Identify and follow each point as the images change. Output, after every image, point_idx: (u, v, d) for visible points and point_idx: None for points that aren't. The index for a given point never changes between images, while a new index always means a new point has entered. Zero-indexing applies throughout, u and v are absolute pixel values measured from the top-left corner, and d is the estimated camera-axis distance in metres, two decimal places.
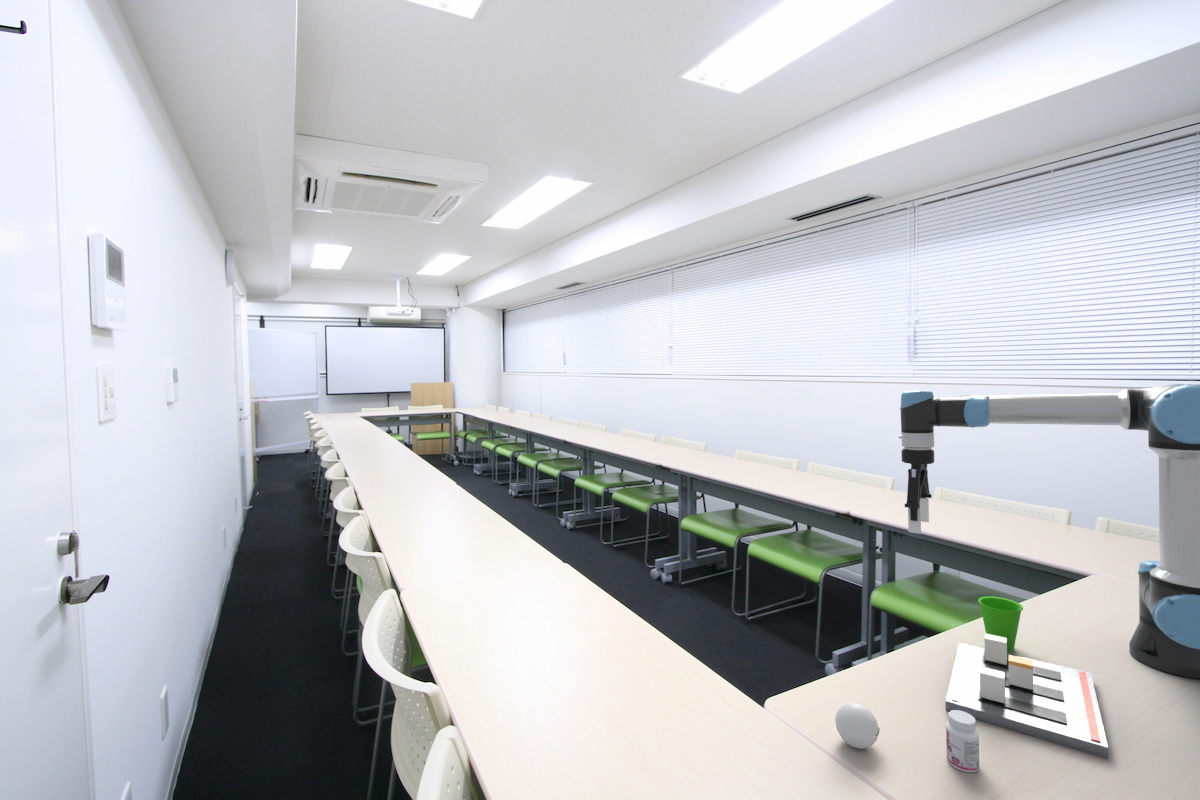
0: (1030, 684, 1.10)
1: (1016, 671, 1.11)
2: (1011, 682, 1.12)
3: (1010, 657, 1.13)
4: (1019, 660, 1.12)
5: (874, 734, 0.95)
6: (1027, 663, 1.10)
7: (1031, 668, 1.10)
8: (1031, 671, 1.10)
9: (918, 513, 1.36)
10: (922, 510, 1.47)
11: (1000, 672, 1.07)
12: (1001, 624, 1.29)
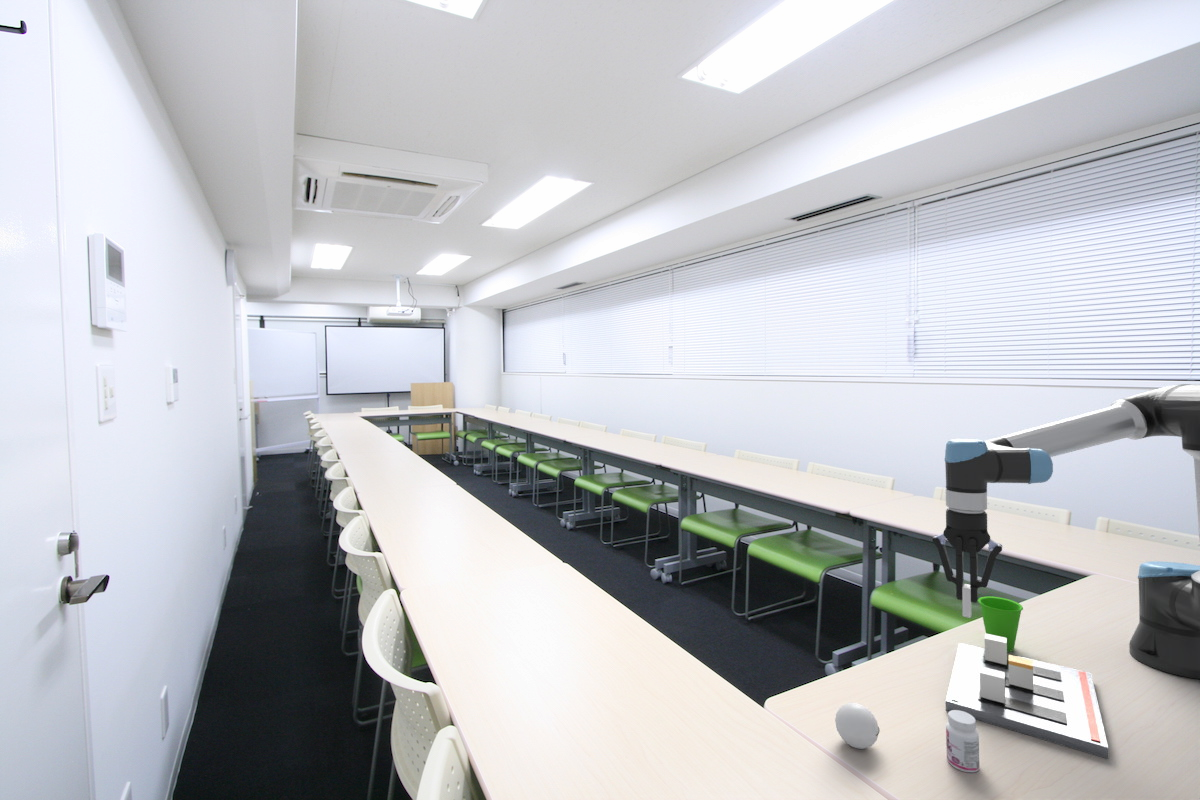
0: (1030, 684, 1.10)
1: (1016, 671, 1.11)
2: (1011, 682, 1.12)
3: (1010, 657, 1.13)
4: (1019, 660, 1.12)
5: (874, 733, 0.95)
6: (1027, 663, 1.10)
7: (1031, 668, 1.10)
8: (1031, 671, 1.10)
9: (962, 592, 1.17)
10: None
11: (1000, 672, 1.07)
12: (1001, 624, 1.29)
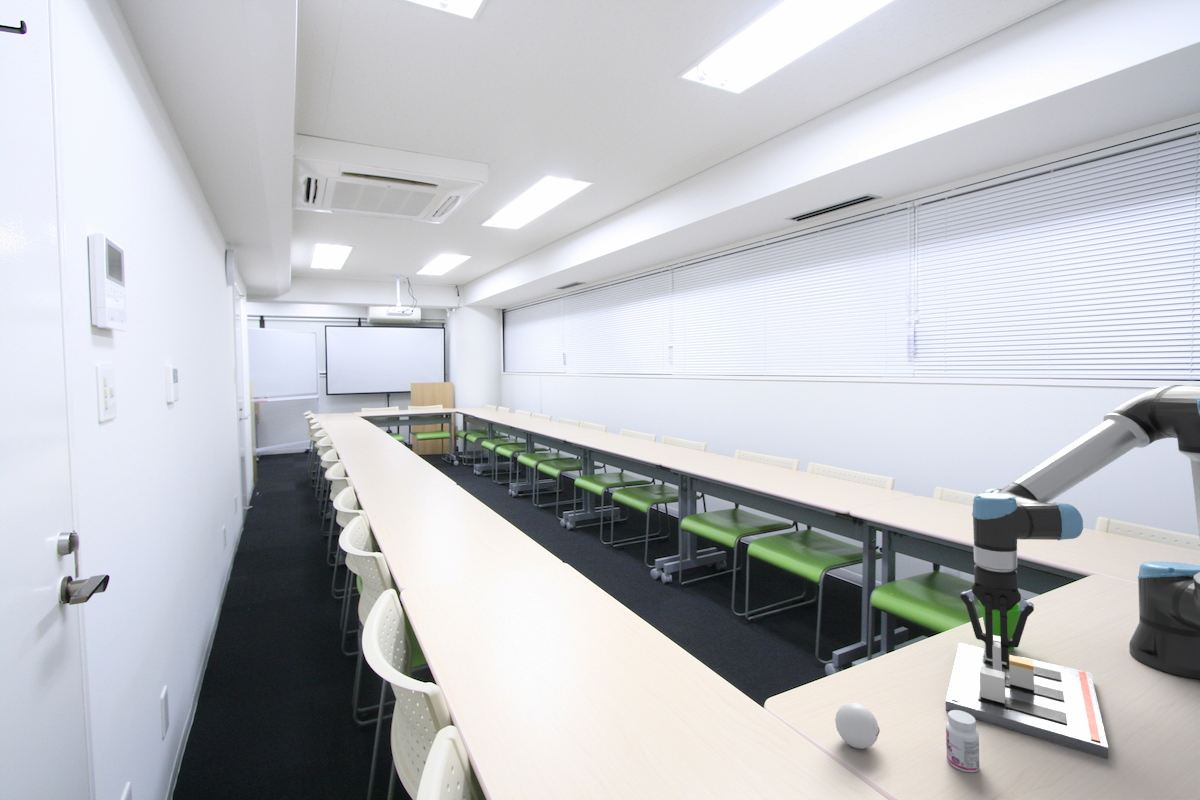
0: (1031, 684, 1.10)
1: (1017, 671, 1.11)
2: (1012, 682, 1.12)
3: (1011, 657, 1.13)
4: (1020, 660, 1.12)
5: (874, 734, 0.95)
6: (1028, 663, 1.10)
7: (1032, 668, 1.10)
8: (1032, 671, 1.10)
9: (992, 651, 1.14)
10: None
11: (1000, 672, 1.07)
12: None
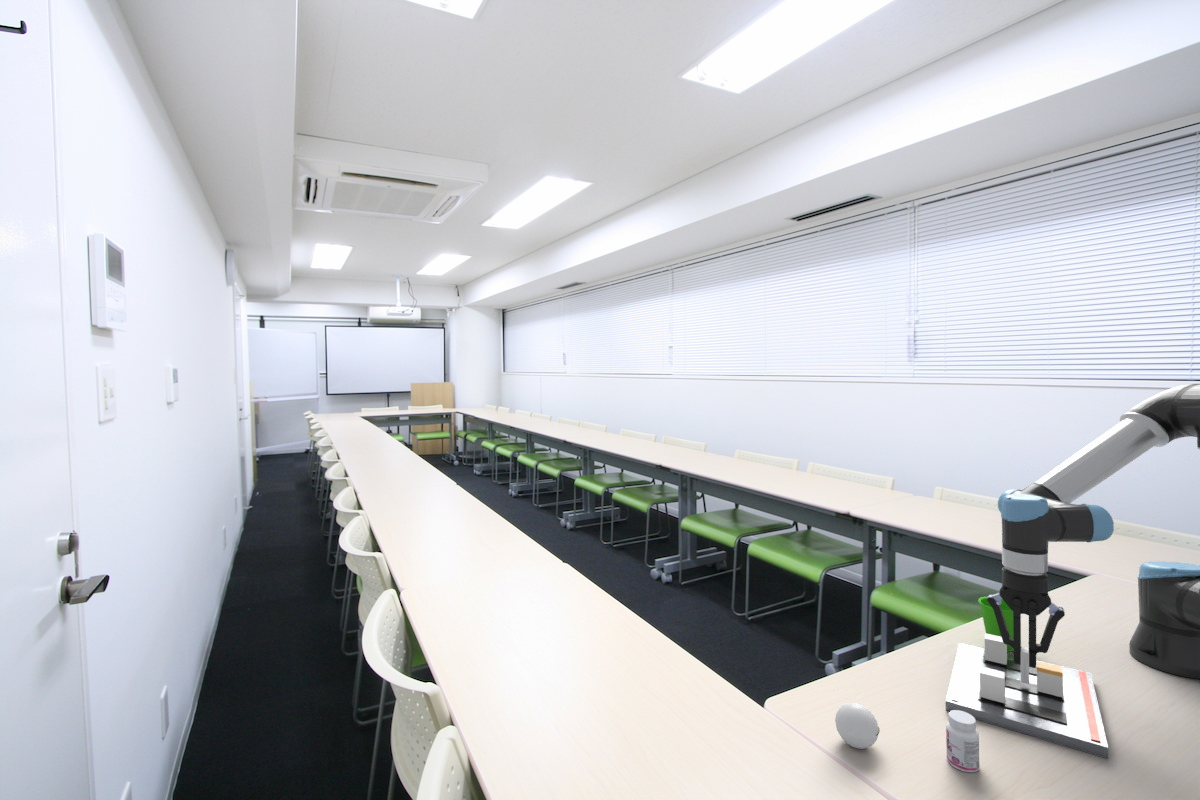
0: (1060, 691, 1.07)
1: (1045, 678, 1.08)
2: (1040, 689, 1.09)
3: (1038, 664, 1.10)
4: (1048, 667, 1.09)
5: (874, 733, 0.95)
6: (1056, 670, 1.08)
7: (1061, 675, 1.07)
8: (1061, 678, 1.07)
9: (1020, 656, 1.11)
10: None
11: (1000, 672, 1.07)
12: None
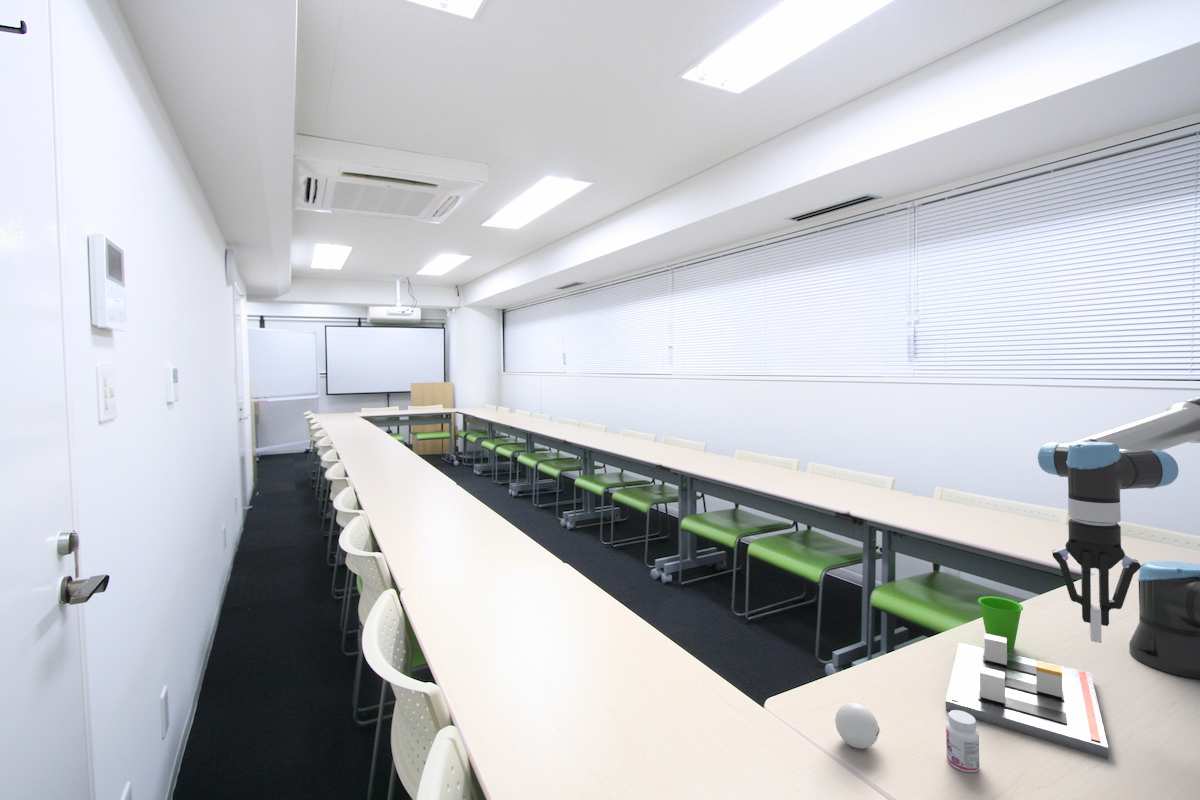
0: (1059, 691, 1.07)
1: (1044, 678, 1.08)
2: (1039, 689, 1.09)
3: (1038, 663, 1.10)
4: (1047, 667, 1.09)
5: (874, 733, 0.95)
6: (1056, 670, 1.08)
7: (1060, 675, 1.07)
8: (1060, 678, 1.07)
9: (1090, 614, 1.04)
10: None
11: (1000, 672, 1.07)
12: (1001, 624, 1.29)
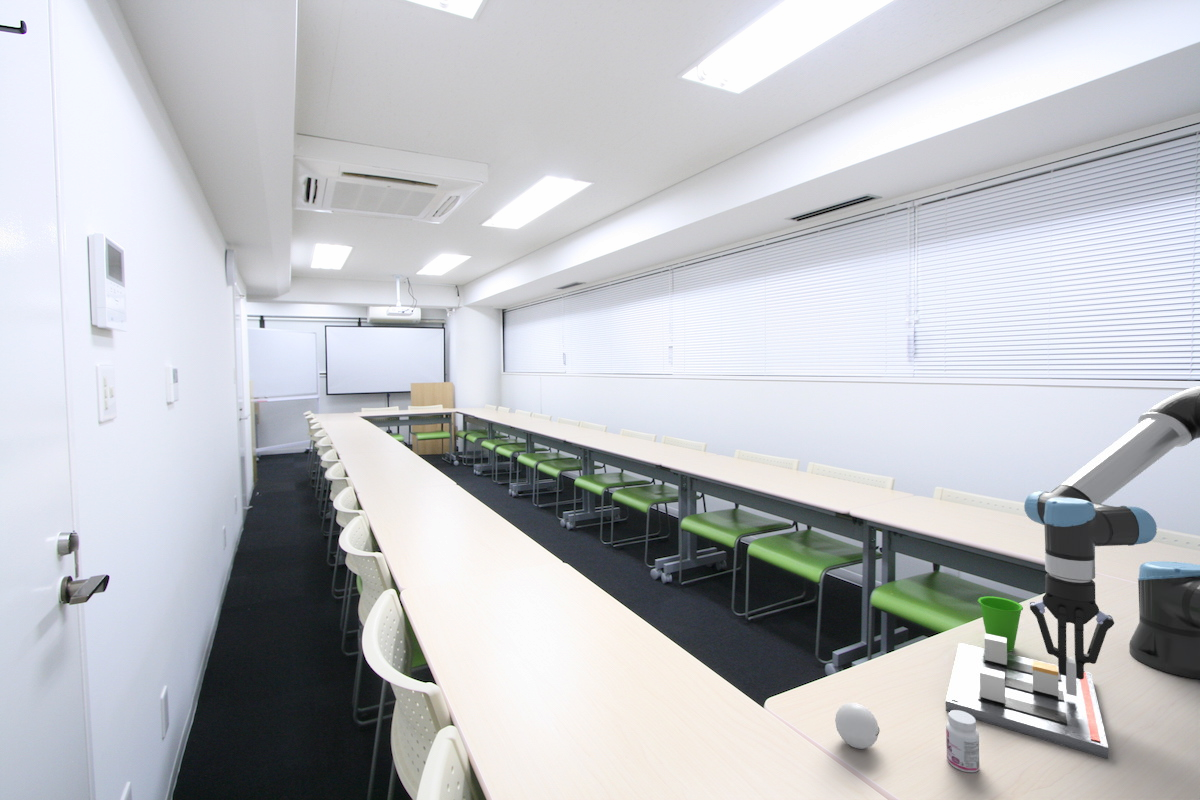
0: (1055, 690, 1.07)
1: (1040, 677, 1.09)
2: (1035, 688, 1.09)
3: (1034, 663, 1.11)
4: (1043, 666, 1.09)
5: (874, 733, 0.95)
6: (1052, 669, 1.08)
7: (1056, 674, 1.07)
8: (1056, 677, 1.07)
9: (1066, 667, 1.06)
10: None
11: (1000, 672, 1.07)
12: (1001, 624, 1.29)
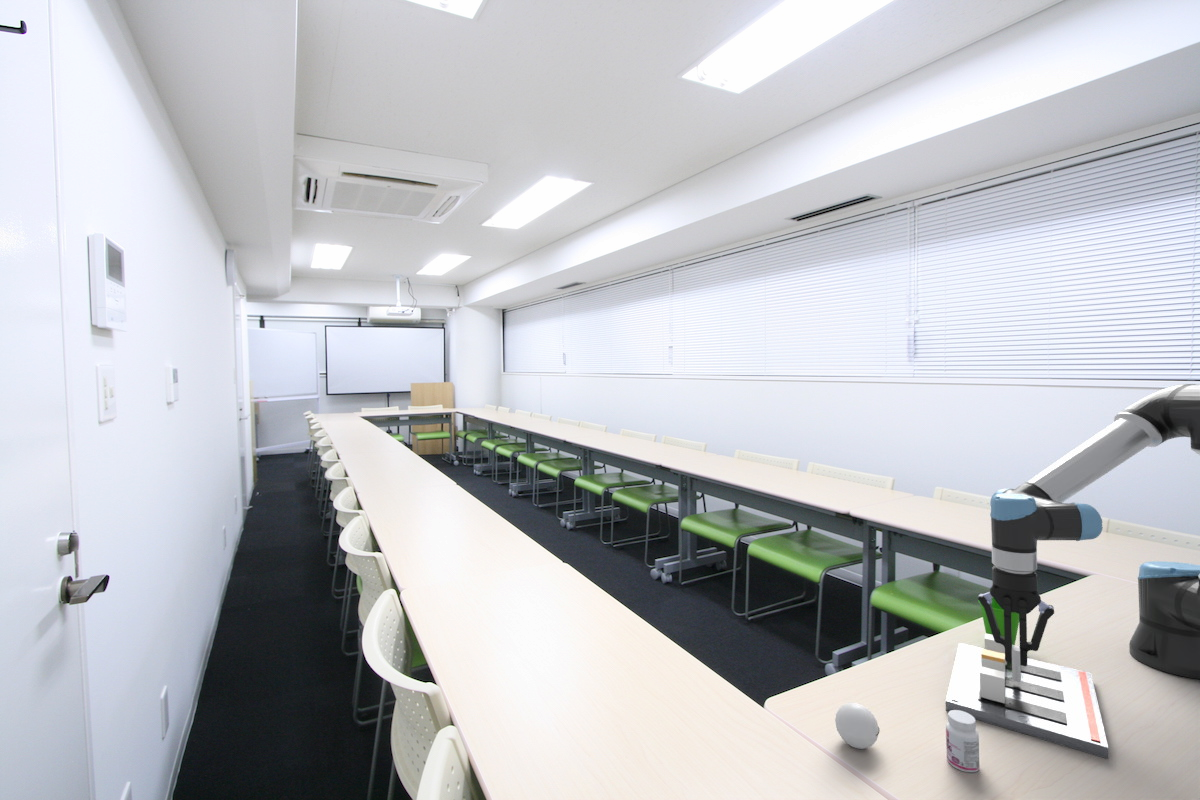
0: None
1: (989, 664, 1.14)
2: None
3: (983, 651, 1.16)
4: (992, 654, 1.15)
5: (874, 734, 0.95)
6: (999, 657, 1.13)
7: (1003, 661, 1.12)
8: (1003, 664, 1.12)
9: (1011, 655, 1.12)
10: None
11: (1000, 672, 1.07)
12: (1001, 624, 1.29)
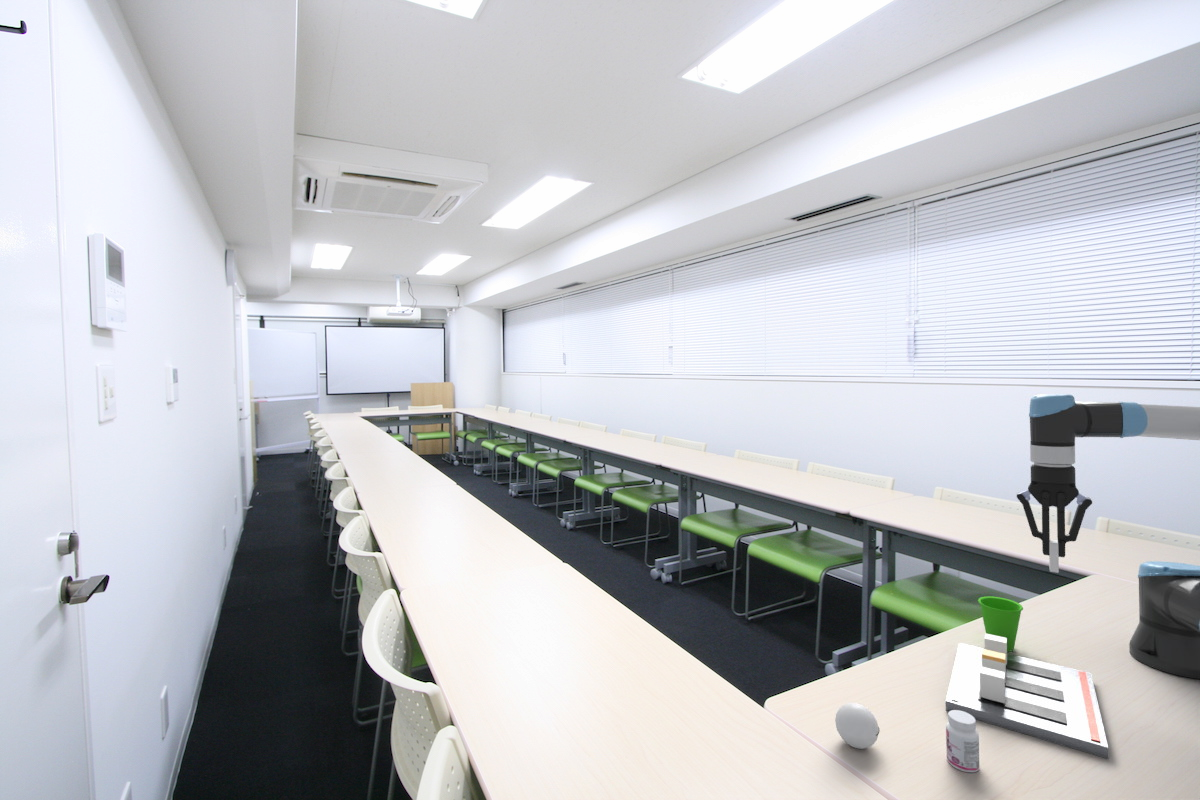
0: None
1: (989, 664, 1.14)
2: None
3: (984, 651, 1.16)
4: (992, 654, 1.15)
5: (874, 733, 0.95)
6: (1000, 657, 1.13)
7: (1003, 661, 1.12)
8: (1003, 664, 1.12)
9: (1049, 547, 1.17)
10: None
11: (1000, 672, 1.07)
12: (1001, 624, 1.29)
